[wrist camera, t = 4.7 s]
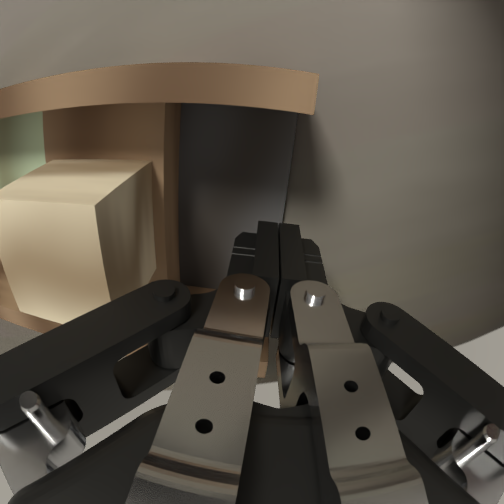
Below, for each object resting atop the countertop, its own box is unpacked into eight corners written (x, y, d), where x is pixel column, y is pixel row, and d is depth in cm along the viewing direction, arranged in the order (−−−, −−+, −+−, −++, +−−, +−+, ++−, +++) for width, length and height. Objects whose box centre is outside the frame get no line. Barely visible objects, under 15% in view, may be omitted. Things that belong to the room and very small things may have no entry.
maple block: (53, 159, 11) (-16, 199, 7) (151, 160, 11) (94, 205, 7) (68, 255, 14) (20, 311, 10) (156, 268, 14) (120, 338, 10)
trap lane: (301, 77, 11) (319, 74, 7) (267, 308, 18) (264, 377, 14) (-39, 106, 12) (-92, 126, 7) (-11, 260, 18) (-48, 297, 14)
